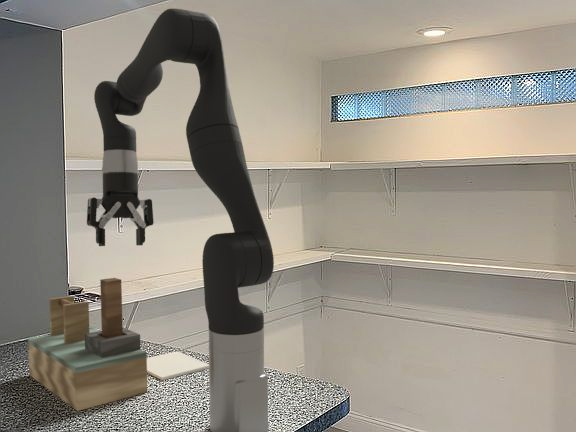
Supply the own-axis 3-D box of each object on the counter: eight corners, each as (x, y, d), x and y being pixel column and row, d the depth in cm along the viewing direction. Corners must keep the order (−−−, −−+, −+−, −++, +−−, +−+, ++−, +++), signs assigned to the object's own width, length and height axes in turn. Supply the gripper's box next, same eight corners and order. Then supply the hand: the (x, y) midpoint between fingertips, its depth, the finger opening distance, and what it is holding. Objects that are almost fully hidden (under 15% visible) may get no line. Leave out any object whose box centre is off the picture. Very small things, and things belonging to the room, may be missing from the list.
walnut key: (123, 349, 119) (121, 279, 118) (108, 352, 117) (106, 281, 116) (116, 346, 121) (114, 277, 120) (102, 348, 119) (100, 279, 118)
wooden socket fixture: (147, 392, 117) (145, 311, 116) (77, 411, 108) (74, 324, 107) (92, 361, 137) (90, 292, 136) (29, 375, 127) (26, 301, 126)
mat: (210, 367, 132) (210, 365, 132) (162, 380, 124) (162, 377, 124) (177, 353, 142) (177, 351, 142) (130, 364, 134) (130, 361, 134)
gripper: (93, 168, 124) (94, 246, 124) (157, 172, 133) (158, 244, 132) (82, 172, 130) (83, 246, 130) (144, 175, 139) (145, 245, 138)
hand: (121, 245), depth 131 cm, fingers open, 8 cm apart
